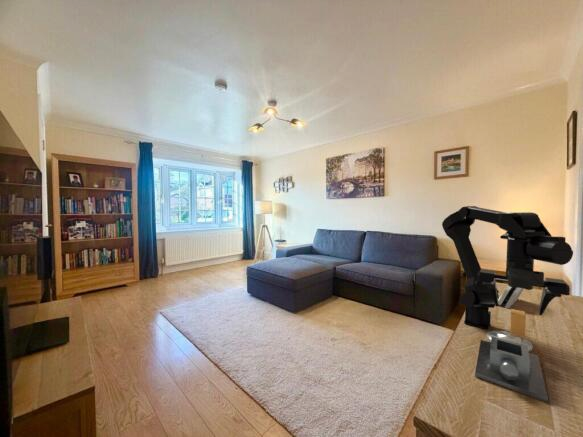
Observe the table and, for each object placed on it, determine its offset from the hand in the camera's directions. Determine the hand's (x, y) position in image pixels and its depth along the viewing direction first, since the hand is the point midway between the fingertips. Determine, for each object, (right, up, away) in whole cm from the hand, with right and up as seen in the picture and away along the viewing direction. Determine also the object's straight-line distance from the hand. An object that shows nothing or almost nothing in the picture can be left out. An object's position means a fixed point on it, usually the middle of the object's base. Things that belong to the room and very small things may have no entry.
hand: (517, 310), depth 71 cm
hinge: (+27, -9, +33) cm, 43 cm away
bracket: (-11, -11, -9) cm, 18 cm away
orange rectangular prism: (0, -11, 0) cm, 11 cm away
